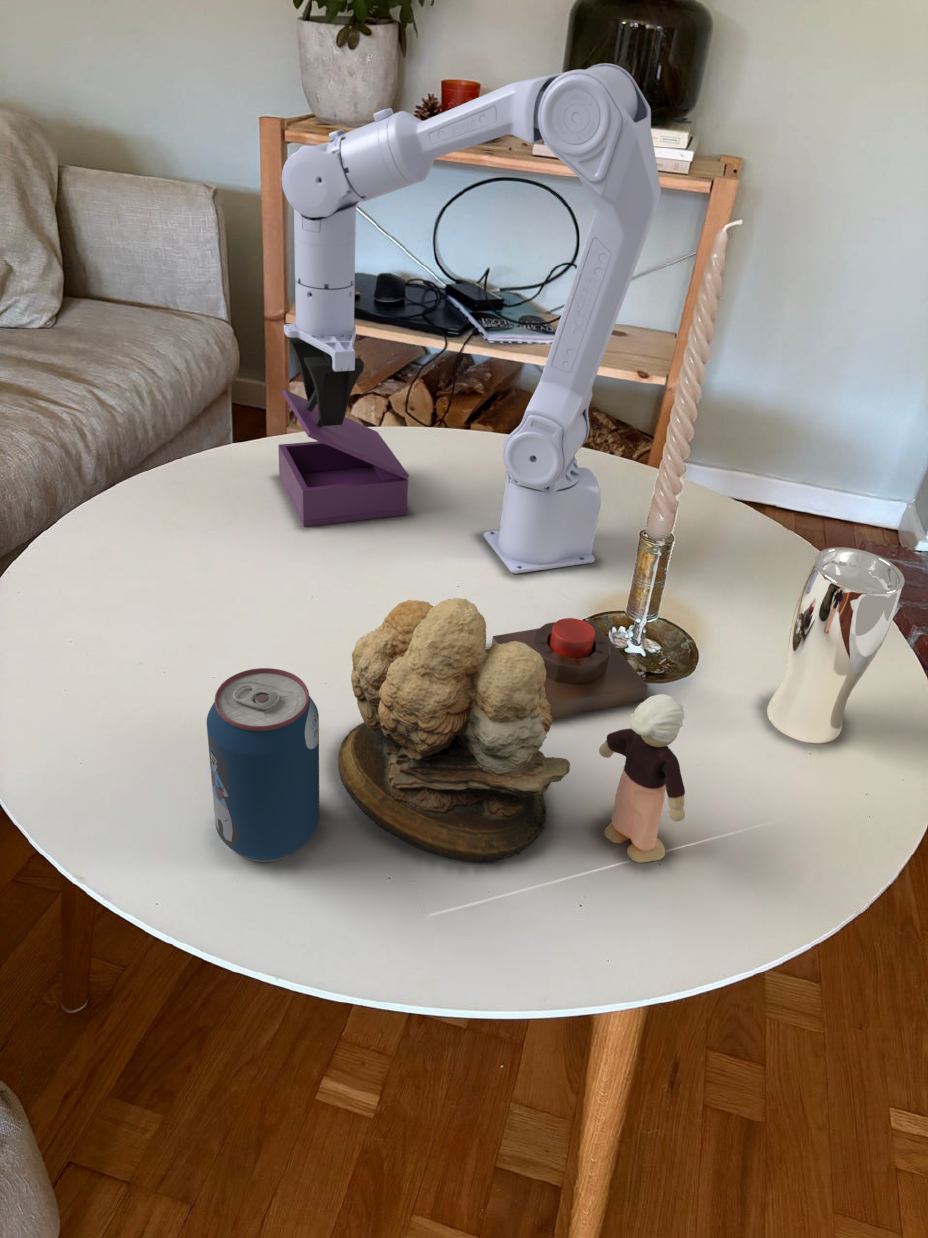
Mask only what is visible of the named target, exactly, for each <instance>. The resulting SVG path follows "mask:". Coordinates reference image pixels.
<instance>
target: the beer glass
mask: <svg viewBox="0 0 928 1238" xmlns="http://www.w3.org/2000/svg"><path fill="white" fill-rule="evenodd" d="M807 574H808V575H807V576H806V579H805V581H804V583H803V586H802V589H801V591H800V593H799V596H798V599H797V602H796V605H795V608H794V613H793V615H792V621H791V626H790V630H789V631H790V632H789V640H788V647H787V656H786V662H785V663H786V665H785V669H784V673H783V676H782V679H781V682H780V684H779V685H778V687H777V689H776V691H775V692H774V694H773V695H772V697H771V699H770V700H769V703H768V704H767V708H766V712H767V718H768V719H769V721H770V722H771V724H772V725H773V726H774V727H775V728H776V729H777V730H778V731H779V732H781V733H782V734H784V735H785V736H787V737H789V738H791V739H794V740H796V741H799V742H802V743H808V744H818V745H819V744H826V743H829V742H832V741H834V740H836V739H837V738H838V736H839V735H840V733H841V731H842V728H843V723H844V715H845V710H846V706H847V703H848V701H849V700H848V699H849V698H850V696H851V694H852V691H854V688H855V687H856V685H857V684H858V683H859V681H860V679H861V678H862V677H863V675H864V673H865V672H866V671H867V669H868V668H869V666H870V665H871V664H872V662H873V660H874V659H875V658H876V655H877V653H878V652H879V650H880V649H881V647H882V645H883V644H884V641H885V639H886V637H887V634H888V632H889V630H890V628H891V625H892V622H893V619H894V616H895V613H896V610H897V608H898V604H899V600H900V597H901V593H902V590H903V588H904V586H905V577H904V574H903V572H902V571H901V570H900V569H899V568H898V567H897V566H896V565H894V564H893V563H892V562H890V561H889V560H887V559H886V558H884V557H881V556H880V555H877V554H875V553H872V552H870V551H866V550H862V549H858V548H852V547H840V546H839V547H838V546H837V547H829V548H825V549H822V550H821V551H819V552H817V554H816V555H815V558H814V561H813V564H812V566H811V568H810V570H809V573H807Z"/></svg>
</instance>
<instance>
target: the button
mask: <svg viewBox="0 0 928 1238" xmlns="http://www.w3.org/2000/svg"><path fill="white" fill-rule="evenodd" d="M585 621H586V620H582V619H579V618H575V617H574V618H573V617H566V618H565V617H564V618H560V619H558V620H557V621H555V624H554V625H553V628H552V634H551V640H550V646H551V648H552V650H553V651H554V652H556V653H558V654H559V655H561V656H563V657H569V658H575V659H578V658H583V657H587V656H588V655H589V654H590V653H591V652H592V648H593V643H594V638H595V631H594V628H593V627H592V626H591V625H590V624H588V623H587V622H585Z"/></svg>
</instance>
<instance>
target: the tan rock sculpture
mask: <svg viewBox="0 0 928 1238" xmlns="http://www.w3.org/2000/svg"><path fill="white" fill-rule="evenodd" d="M351 662H352V671H351V674H350V675H351V676H350V682H351V688H352V691H353V695H354V697H355V698H356V699H357V700H356V704H357V708H358V710H359V713H360V716H361V718H362V720H363V722H362V723H360V724H358V725H357V726H355V727H354V728H352V730H350V731H349V732H348V733H347V734H346V736H345V737H344V738H343V740H342V741H341V745H340V747H339V750H338V756H337V760H338V761H337V762H338V763H337V766H338V774H339V777H340V781H341V783H342V785H343V786H344V789H345V791H346V792H347V793H348V795H349V797H350V798H351V799H352V801H353V802H354V803H355V804H356V805H357V806H358V808H359V809H361V811H362V812H363V813H364V814H365V815H367V816H368V817H369V819H371V820H372V821H373V822H374V823H376V824H377V825H379V826H380V827H382V828H383V829H385V830H386V831H388V832H389V833H390V834H393V835H394V836H396V837H398V838H400V839H402V840H404V841H406V842H407V843H409V844H410V845H412V846H414V847H416V848H419V849H421V850H424V851H426V852H428V853H432V854H434V855H439V856H443V857H448V858H450V859H455V860H464V861H478V862H496V861H500V860H502V859H503V858H507V857H513V856H515V855H516V856H519V855H520V853H521V852H522V851H524V850H525V849H526V848H528V847H530V846H531V845H532V844H533V843H534V842H535V841H536V840H537V839H538V838H539V836H540V835H541V833H542V831H544V830H545V825H546V820H547V807H546V802H545V797H544V794H543V793H546V792H547V791H548V789H549V787H550V786H551V784H552V783H558V782H561V781H562V779H563V778H564V777H565V776H567V775H568V774H569V773H570V771H571V770H570V769H571V767H570V766H571V763H570V761H569V760H568V759H567V758H563V757H554V756H552V757H551V756H549V757H548V756H545V755H544V753H543V752H542V751H541V750H540V748H542V747H543V745H544V742H545V740H546V739H547V738H548V736H547V734H548V732H549V731H550V730H551V726H552V725H553V723H554V722H553V720H554V719H553V717H551V716H550V707H551V705H550V704H549V703H548V700H547V699H545V697H546V695H545V687H544V683H545V680H546V669H545V666H544V661H543V658H542V657H541V655H540V654H539V653H537V652H536V651H535V650H534V649H532V648H531V647H529V646H528V645H526V644H524V643H521V642H518V641H513V642H512V641H510V642H508V643H503V644H498V643H495V644H493V645H492V644H491V646H490V647H489V648H487V622H486V619H485V617H484V615H483V614H481V612H479V609H478V607H477V606H476V605H475V603H473V602H471V601H470V600H468V599H467V598H461V597H454V598H448V599H446V600H442V601H439V603H437V604H435V606H433V605H432V604H431V603H429V601H424V600H414V599H413V600H412V599H408V600H406V601H402V602H399V603H398V604H397V605H395V607H393V608H392V609H391V610H390V612H388V614H387V615H386V616H385V618H384V621H383V622H382V623H381V625H379V626H378V627H377V628H375V629H374V630H371V631H370V632H368V633H366V634H365V635H363V636H361V637H360V638H359V639H358V640H357V641H356V642H355V644H354V648H353V650H352V652H351ZM455 739H456V740H457V743H458V745H459V746H458V747H456V748H455V747H454V748H452V749H450V750H449V751H448V754H443V753H441V751H443V750H448V747H449V746H450V745H451V743H452V742H453V741H454V740H455ZM439 753H441V754H442V755H441V754H439ZM434 754H437V755H434ZM432 755H434V756H432Z"/></svg>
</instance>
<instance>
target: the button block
mask: <svg viewBox="0 0 928 1238" xmlns="http://www.w3.org/2000/svg"><path fill="white" fill-rule="evenodd" d="M584 621H585V622H587V623H588V624H590V625H591V626H592V627H593V628H594V631H595V638H594V643H593V648H592V652H591V653H590V654H589V655H588V656H587V657H583V658H578V659H575V658H569V657H563V656H561V655H559V654H558V653H556V652H554V651H553V650H552V648H551V646H550V640H551V634H552V628H553V625H554V624H555V622H556V621H555V622H554V621H553V622H548V623H547V622H546V623H545V624H543V625H542V626H540V627H539V628H532V629H526V630H521V631H515V632H509V633H503V634H502V633H501V634H497V635H492V639H491V646H492V645H493V644H495V643H498V644H503V643H508V642H510V641H512V642H513V641H518V642H521V643H524V644H526V645H528V646H529V647H531V648H532V649H534V650H535V651H536V652H537V653H539V654H540V655H541V657H542V658H543V661H544V666H545V669H546V680H545V683H544V687H545V695H546V697H545V699H547V700H548V703H549V704H550V705H551V707H550V716H551V717H553V719H552V720H555V719H561V718H565V717H566V718H567V717H570V716H576V715H580V714H585V713H590V712H595V711H600V710H605V709H609V708H615V707H619V706H624V705H629V704H634V703H638V702H644V701H645V700H646V695H647V691H648V688H649V685H648V684H647V683H646V681H645V680H644V678H642V677H641V675H639V673H638V671H636V669H635V668H634V667H633V666H632V665H631V664H630V662H629V661H628V660H627V658H626V657H625V656H624V655H623V654H622V653H621V652H620V650H619V649H618V648H617V647H616V645H615V644H614V643H613V642H612V641H611V640H610V639H609V637H608V636H607V635H606V634H605V632H604V631H603V630H602V629H601V628H600V626H599V625H598V623H596V622H595V621H594V619H587V620H584Z"/></svg>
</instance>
